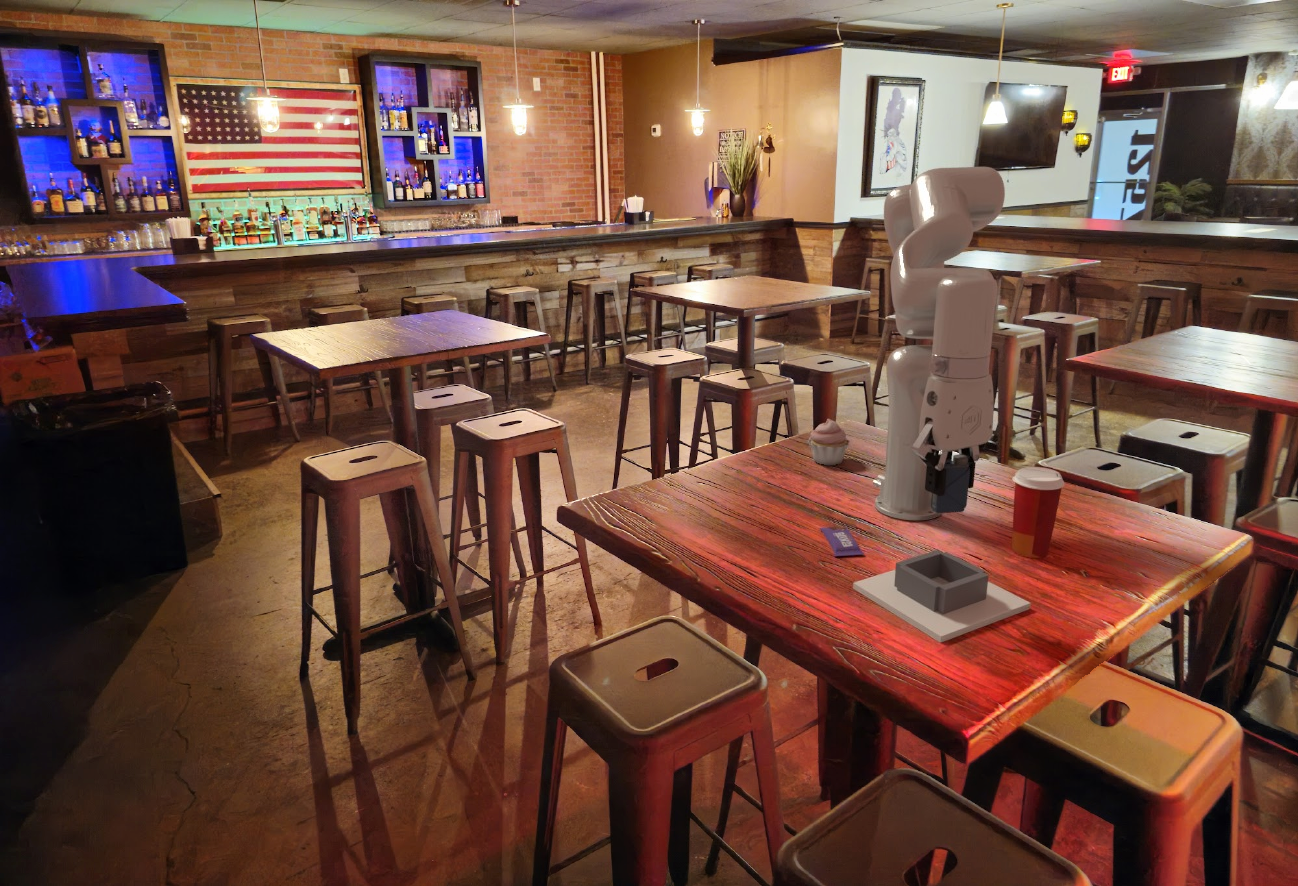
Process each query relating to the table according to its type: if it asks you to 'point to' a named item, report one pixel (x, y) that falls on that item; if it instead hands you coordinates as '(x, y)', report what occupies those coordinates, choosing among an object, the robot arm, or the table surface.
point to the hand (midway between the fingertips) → (949, 487)
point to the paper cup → (1035, 510)
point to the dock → (941, 595)
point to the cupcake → (828, 443)
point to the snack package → (841, 541)
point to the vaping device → (953, 485)
